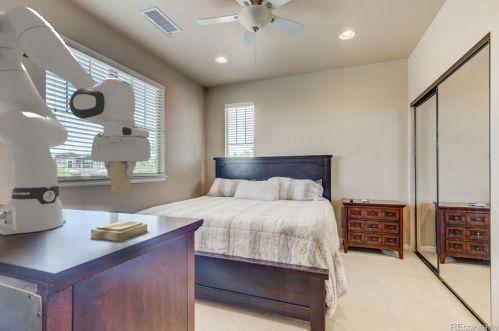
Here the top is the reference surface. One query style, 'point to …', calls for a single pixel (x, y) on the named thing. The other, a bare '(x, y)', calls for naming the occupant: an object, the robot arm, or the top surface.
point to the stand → (119, 230)
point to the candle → (119, 177)
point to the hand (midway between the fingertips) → (120, 176)
